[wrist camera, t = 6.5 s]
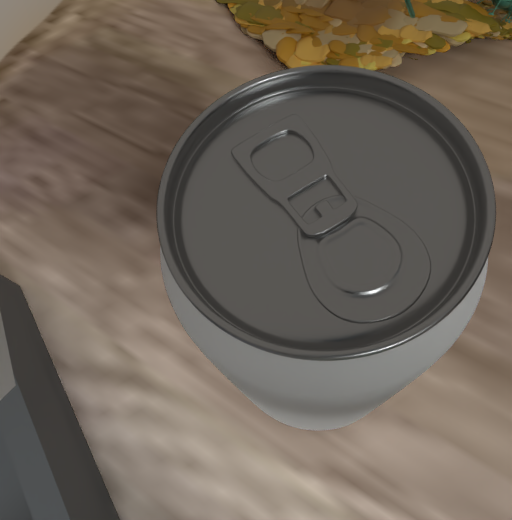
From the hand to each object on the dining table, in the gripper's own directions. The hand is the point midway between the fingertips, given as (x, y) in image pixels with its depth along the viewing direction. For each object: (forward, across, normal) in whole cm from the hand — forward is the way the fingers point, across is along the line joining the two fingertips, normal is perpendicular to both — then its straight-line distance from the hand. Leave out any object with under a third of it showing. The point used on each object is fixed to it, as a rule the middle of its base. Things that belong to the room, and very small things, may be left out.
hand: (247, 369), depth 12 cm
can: (+7, +2, -4) cm, 8 cm away
